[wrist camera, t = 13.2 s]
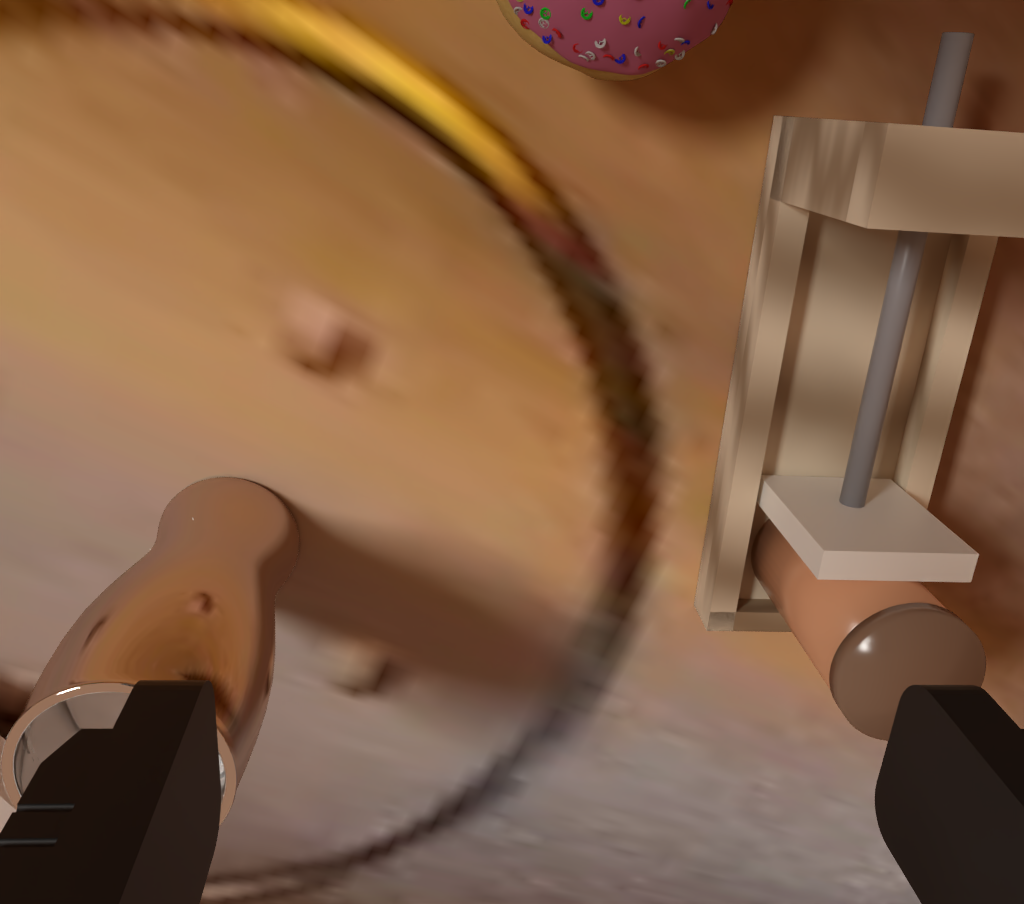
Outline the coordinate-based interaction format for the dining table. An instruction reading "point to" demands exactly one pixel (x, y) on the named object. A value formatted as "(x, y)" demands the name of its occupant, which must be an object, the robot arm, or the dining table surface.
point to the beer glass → (173, 630)
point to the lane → (850, 319)
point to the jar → (867, 634)
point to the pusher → (878, 434)
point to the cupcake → (614, 32)
